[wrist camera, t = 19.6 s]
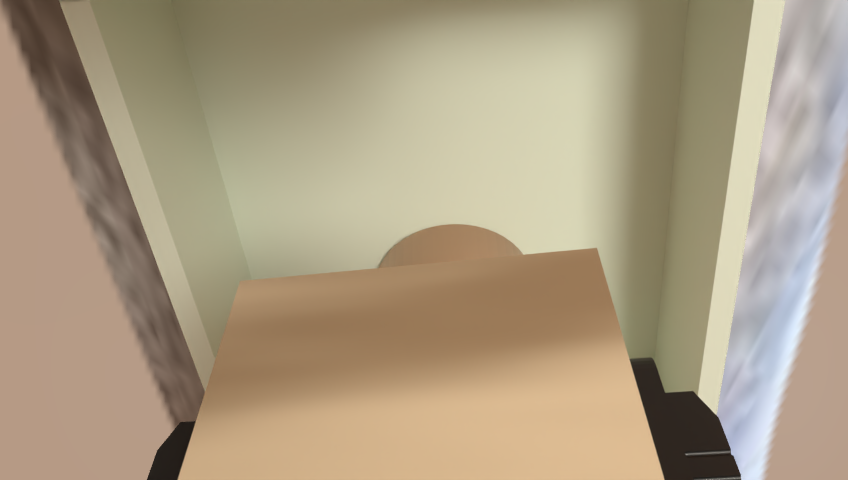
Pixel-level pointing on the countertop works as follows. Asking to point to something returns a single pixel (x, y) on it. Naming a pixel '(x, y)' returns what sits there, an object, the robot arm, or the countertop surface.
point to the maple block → (426, 377)
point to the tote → (443, 144)
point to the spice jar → (449, 246)
